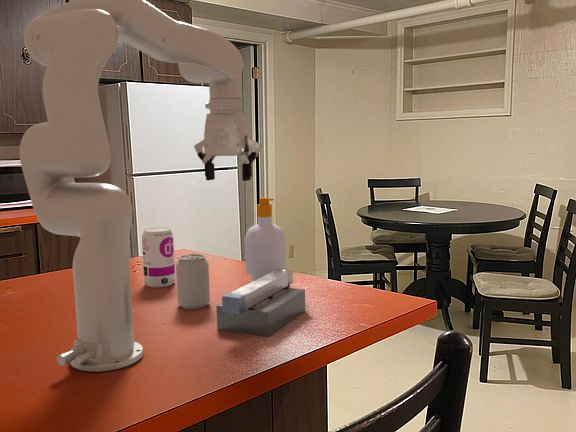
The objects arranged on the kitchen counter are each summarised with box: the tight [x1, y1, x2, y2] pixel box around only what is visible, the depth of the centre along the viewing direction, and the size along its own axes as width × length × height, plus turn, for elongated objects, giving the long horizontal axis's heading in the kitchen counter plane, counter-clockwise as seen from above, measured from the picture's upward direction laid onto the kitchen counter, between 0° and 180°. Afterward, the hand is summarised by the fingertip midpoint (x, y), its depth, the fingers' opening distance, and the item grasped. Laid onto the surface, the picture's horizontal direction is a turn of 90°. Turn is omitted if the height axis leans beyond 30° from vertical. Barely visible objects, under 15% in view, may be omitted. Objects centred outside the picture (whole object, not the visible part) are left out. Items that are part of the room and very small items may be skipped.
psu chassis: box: [215, 284, 306, 338], centre depth 123 cm, size 22×12×5 cm, turn 155°
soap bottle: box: [244, 197, 287, 283], centre depth 141 cm, size 10×10×24 cm
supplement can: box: [141, 227, 176, 289], centre depth 152 cm, size 8×8×15 cm
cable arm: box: [221, 267, 294, 314], centre depth 121 cm, size 26×4×3 cm, turn 155°
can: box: [175, 253, 211, 310], centre depth 132 cm, size 8×8×12 cm
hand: (228, 180), depth 134 cm, fingers open, 9 cm apart
